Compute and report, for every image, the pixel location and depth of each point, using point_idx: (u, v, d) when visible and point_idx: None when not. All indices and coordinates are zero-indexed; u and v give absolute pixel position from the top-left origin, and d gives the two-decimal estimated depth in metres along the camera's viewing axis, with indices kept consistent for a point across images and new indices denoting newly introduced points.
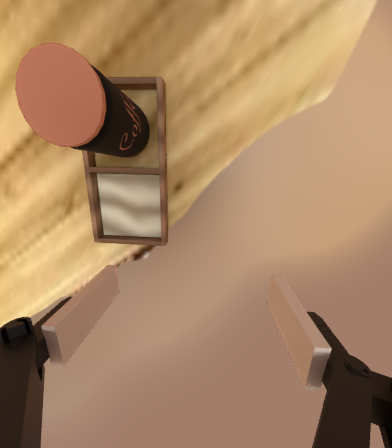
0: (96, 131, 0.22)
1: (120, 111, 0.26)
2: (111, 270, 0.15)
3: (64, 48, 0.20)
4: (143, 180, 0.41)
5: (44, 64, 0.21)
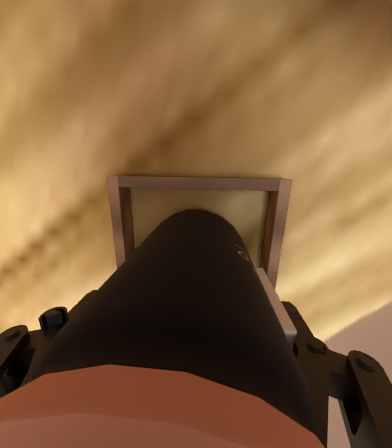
0: None
1: None
2: None
3: None
4: None
5: None
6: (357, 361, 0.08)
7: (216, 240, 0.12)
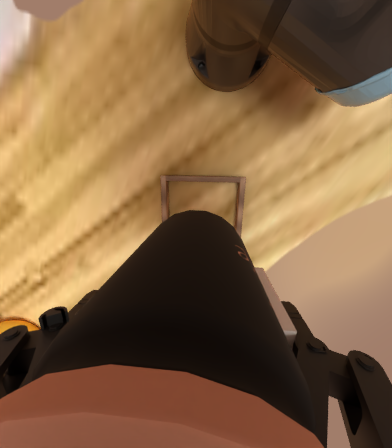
0: None
1: None
2: None
3: None
4: None
5: None
6: (357, 361, 0.08)
7: (216, 240, 0.12)
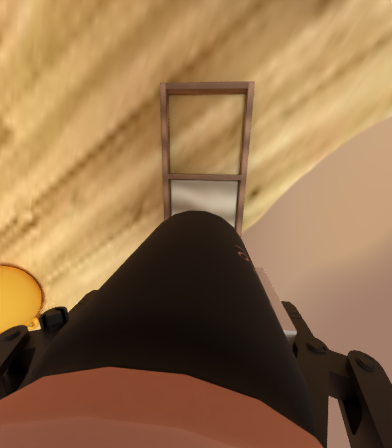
0: None
1: None
2: None
3: None
4: (219, 186, 0.40)
5: None
6: (357, 361, 0.08)
7: (216, 240, 0.12)
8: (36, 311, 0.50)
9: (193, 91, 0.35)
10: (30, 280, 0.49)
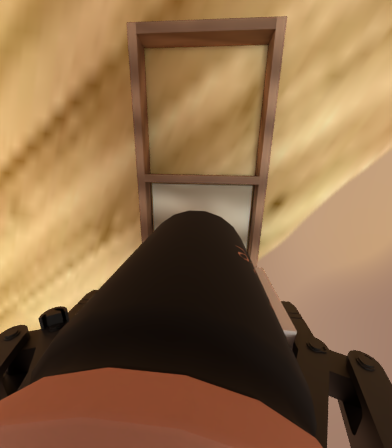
0: None
1: None
2: None
3: None
4: (224, 193, 0.26)
5: None
6: (357, 361, 0.08)
7: (216, 240, 0.12)
8: None
9: (183, 39, 0.21)
10: None
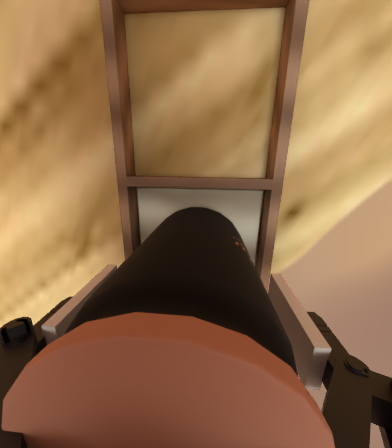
0: None
1: None
2: (111, 270, 0.15)
3: (217, 363, 0.04)
4: (227, 200, 0.21)
5: (117, 395, 0.05)
6: None
7: (215, 232, 0.13)
8: None
9: None
10: None
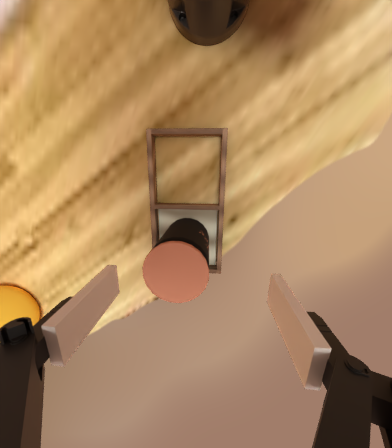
0: (200, 293, 0.30)
1: None
2: (111, 270, 0.15)
3: (185, 246, 0.28)
4: (201, 214, 0.45)
5: (168, 254, 0.28)
6: None
7: (191, 228, 0.37)
8: None
9: (175, 135, 0.40)
10: (30, 298, 0.53)
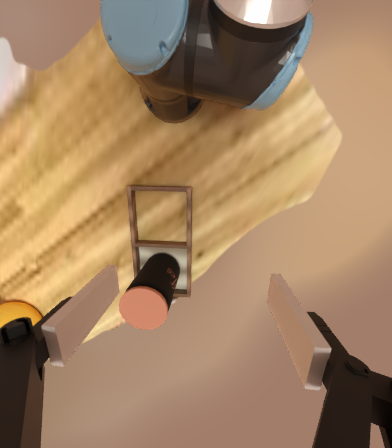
0: None
1: (171, 298, 0.43)
2: (111, 270, 0.15)
3: (148, 291, 0.38)
4: (173, 250, 0.55)
5: (137, 296, 0.39)
6: None
7: (161, 267, 0.47)
8: None
9: None
10: (35, 313, 0.64)
